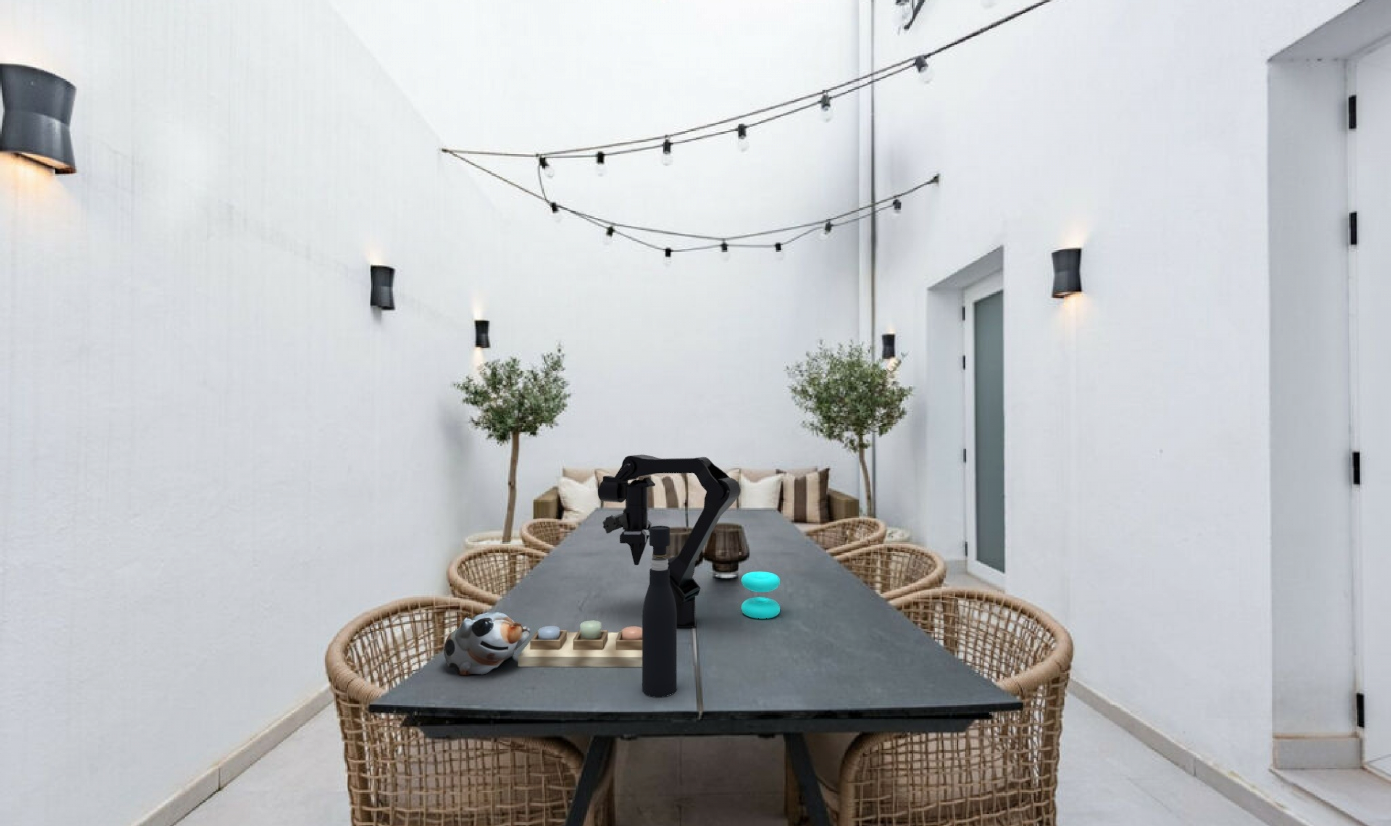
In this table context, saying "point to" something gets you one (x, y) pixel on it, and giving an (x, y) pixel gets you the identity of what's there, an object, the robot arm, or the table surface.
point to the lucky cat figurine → (483, 643)
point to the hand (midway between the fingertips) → (636, 564)
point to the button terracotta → (632, 633)
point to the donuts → (760, 605)
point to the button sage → (590, 629)
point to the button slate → (549, 633)
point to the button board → (582, 651)
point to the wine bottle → (659, 622)
